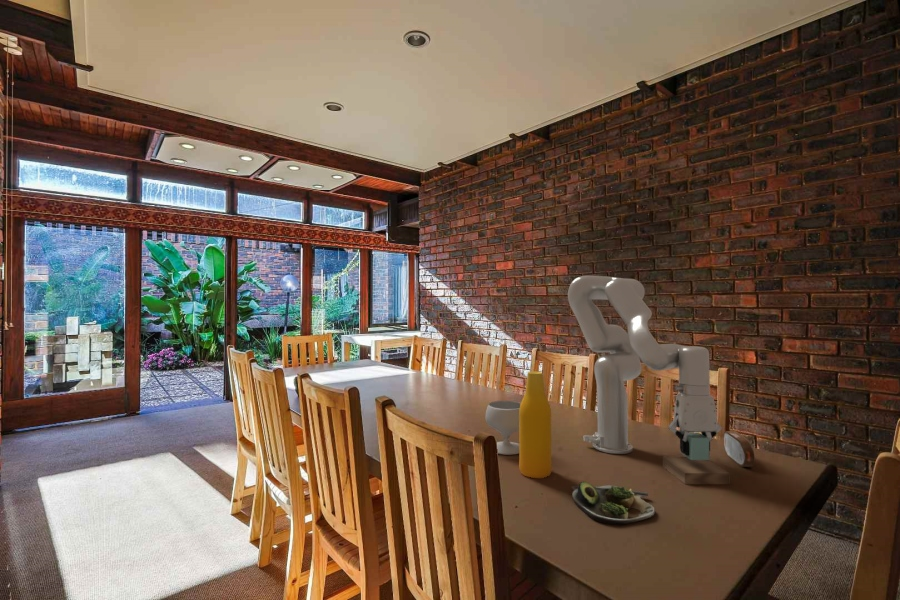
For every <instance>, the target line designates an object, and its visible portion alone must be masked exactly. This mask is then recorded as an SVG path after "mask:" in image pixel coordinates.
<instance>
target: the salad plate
mask: <svg viewBox="0 0 900 600" xmlns="http://www.w3.org/2000/svg"><path fill="white" fill-rule="evenodd" d="M570 487H571V489H573V491H572V493H571V497H572V501H574V503H575V505H576V506H577V507H578V508H579V509H580V510H581V511H582V512H583V513H584V514H585V516H587V517H588V518H591V519H592V520H594V521H597V522H599V523H602V524H607V525H608V524H609V525H626V524H630V523H631V524H632V523H636V522H639V521H642V520H646V519H649V518H651V517H653V516H654V515H655V513H656V508H655V507H654V506H653V505H652V504H650V503H649V502H646V501H645V500H644V499H643V498H645V497H648V496H649V492H644V491H639V490H638V491H637V490H633V488H629V489H626V488H625V486H622V487H621V486H617V485H602V486H593V484H591V483H590V482H587V481H581V482H580V483H579V484H578V485H572V486H570ZM631 508H633V509H636V510H637V511H640V512H639V514H638V516H636V517H633V518H629V512H628V511H629V510H631Z"/></svg>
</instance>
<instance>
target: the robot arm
mask: <svg viewBox="0 0 900 600" xmlns="http://www.w3.org/2000/svg"><path fill="white" fill-rule="evenodd" d="M645 290H646V289H645V287H644V285H643V284H642V282H640V281H639V280H637V279H634V278H625V277H624V278H621V277H614V276H606V275H605V276H603V275H602V276H601V275H581V276H578V277H576V278H574V280H572V281H571V283H570V285H569V287H568V291H567V300H568V303H569V307H570V309H571V310H572V312H573V315H574V316H575V318H576V320H577V322H578V325H579V327H580V330H581V332H582V334H583V336H584V339H585V341H586V343H587V346H588V347H589V349H590V350H591V351H592V352H594V353H608V352H609V354H605V355H602V356H600V357H598V358H597V359H596V361H595V363H594V367H593V369H594V376H595V381H596V391H597V393H596V396H597V397H596V399H597V401H596V402H597V431H595V432H594V434H592V435H589V434H587V435H585V434H584V435H583V436H582V439H583V442H589V443H590V444H592V447H593V448H594V449H596V450H597V451H600V452H602V453H608V454H611V455H612V454H613V455H626V454H631V453H632V452H633V450H634V446H633V445H632V444H631V443H630V442H629V440H628V437H629V435H628V433H629V428H628V426H629V425H628V419H629V417H628V416H629V415H628V413H629V411H628V409H629V408H628V392H627V389H626V386H625V383H624V382H625V381H632V380H635V379H636V378H638V377H639V376H640V375H641V372H642V369H643V368H642V363H643V364H644V365H645V367H647V368H648V369H650V370H651V371H658V372H659V371H666V370H673V369H678V385H675V386H674V390H675V392H678V393H677V394H676V398H675V404H674V412H673V413H674V414H673V415H674V416H673V420H672V421H671V422H670V423H669V425H668V427H667V429H669V430H670V431H671V432H672V433H673V434H674V435H675V436H677V438H678V439H679V450H680V452H681V454H682V453H683V454H685V455H686V456H689V442H688V441H687V439H688V435H689V433H700V434H702V435H704V436H706V437H708V438H709V456H710V452H711V442H713V438H714V437H715V436H716V435H717V434H718V433H719V432H720V431H722V429H723V428H722V426H721V424H719V422H718V415H717V408H716V401H715V400H714V399H715V398H714V396H713V395H712V394H711V393H710V390H711V387H710V386H711V385H710V382H711V381H710V351H709V349H708V348H706V347H704V346H697V345H695V346H694V345H692V346H691V345H689V346H688V345H683V344H682V345H681V344H678V343H661V344H660V343H658V341H657V340H656V339H655V337H654V336H653V334H652V333H651V332H650V328H649V326H648V321H649V320H650V319H651V317H652V309H650V308H649V307H648V306H647V304H646V302H645V301H644V300H643V299H644V297H645V293H646V292H645ZM593 300H604V301H606V300H607V301H609V303H610V304H611V306H612V307H613V308H614V309H615V311H616V313H617V314H618V315H619V317H620V318H621V319H622V321H623V322H624V324H625V325H626V327H627V331H626V330H625V329H624V328H623V327H622V326H620V325H619V324H609V323H607V322H606V321H605V319H604V316H603V313H602V312H601V310H600V309H599V307H598V306H597V305H596V304H595V303H594V302H593ZM641 362H642V363H641ZM677 428H679V430H678V429H677ZM683 454H682V455H683ZM685 455H684V456H685ZM686 456H685V457H686Z"/></svg>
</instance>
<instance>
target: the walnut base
mask: <svg viewBox="0 0 900 600" xmlns="http://www.w3.org/2000/svg"><path fill="white" fill-rule="evenodd" d="M662 467H663V468H664V469H665V470H666V469H667V470H666V471H668V472H669V473H670V474H671V475H673V476H674V477H675V478H676V479H678V480H679V481H680V482H682V483H683V484H684V485H730V484H731V483H730V478H731V477H730V476H731V475H730V472H728V471H727V470H726V469H724V468H722V467H720V466H719V465H717V464H715V463H714V462H713V461H711V460H710V459H709V460H691V459H689V458H688V457H686V456H662Z"/></svg>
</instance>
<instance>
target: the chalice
mask: <svg viewBox="0 0 900 600" xmlns="http://www.w3.org/2000/svg"><path fill="white" fill-rule="evenodd" d="M520 404H521V402H518V401H515V400H514V401H513V400H496V401H491V402H489V404H488V405H487V407H486V411H485V415H484V416H485V417H484V418H485V419H484V420H485V421H486V423H487V426H489V427H490V428H492V429H493V430H496V431H497V432H499V433H500V434H501V436H502V437H503V441H496V442H497V449H498V453H497V454H498V455H505V456H507V455H508V456H510V455H511V456H512V455H518V454H519V443H518V442H513V441H510V437H511V435H512V434H513V433H515V432H517V431H519V409H520Z"/></svg>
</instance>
